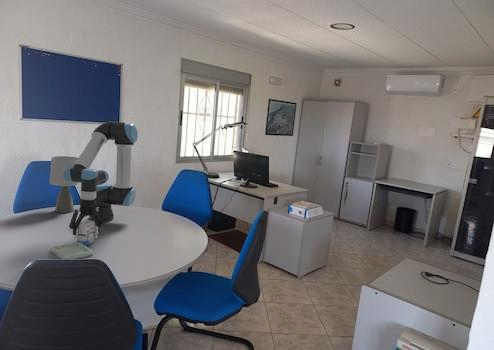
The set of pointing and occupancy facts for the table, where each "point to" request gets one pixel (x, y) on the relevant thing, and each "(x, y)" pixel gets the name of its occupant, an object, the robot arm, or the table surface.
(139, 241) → the table surface
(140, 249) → the table surface
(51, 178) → the lamp
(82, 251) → the tray
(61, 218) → the table surface
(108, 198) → the robot arm
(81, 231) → the ink box
